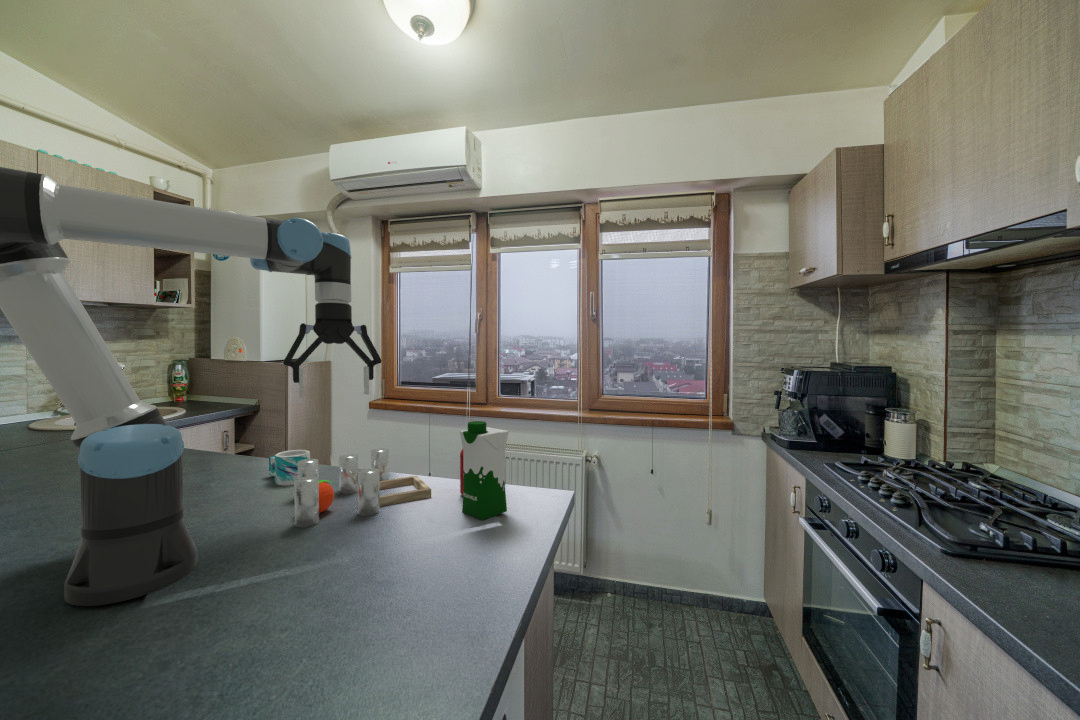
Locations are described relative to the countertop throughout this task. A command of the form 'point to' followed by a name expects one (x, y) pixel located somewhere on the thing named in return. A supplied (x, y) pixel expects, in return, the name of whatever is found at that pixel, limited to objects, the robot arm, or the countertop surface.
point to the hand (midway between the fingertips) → (335, 395)
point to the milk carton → (483, 470)
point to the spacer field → (340, 485)
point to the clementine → (325, 495)
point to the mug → (286, 466)
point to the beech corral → (404, 496)
